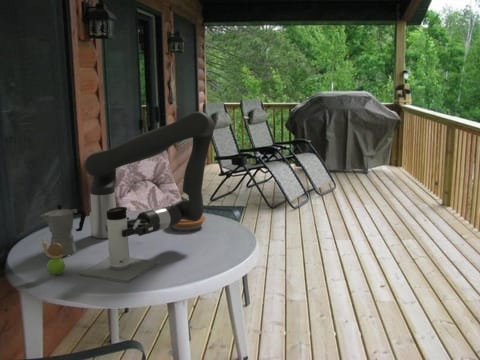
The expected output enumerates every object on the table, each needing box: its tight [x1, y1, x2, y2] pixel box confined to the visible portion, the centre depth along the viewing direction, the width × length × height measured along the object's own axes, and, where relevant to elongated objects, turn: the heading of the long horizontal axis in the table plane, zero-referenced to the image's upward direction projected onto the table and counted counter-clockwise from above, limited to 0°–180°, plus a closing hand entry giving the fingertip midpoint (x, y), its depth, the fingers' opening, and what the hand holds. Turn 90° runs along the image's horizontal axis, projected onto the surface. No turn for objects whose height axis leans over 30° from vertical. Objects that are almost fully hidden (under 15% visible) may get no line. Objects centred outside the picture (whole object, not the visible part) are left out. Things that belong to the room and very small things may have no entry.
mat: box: [79, 256, 159, 283], centre depth 177 cm, size 18×18×1 cm
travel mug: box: [107, 206, 130, 270], centre depth 175 cm, size 6×7×20 cm
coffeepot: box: [39, 203, 87, 257], centre depth 192 cm, size 15×9×18 cm, turn 115°
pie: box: [171, 215, 206, 232], centre depth 223 cm, size 15×16×5 cm
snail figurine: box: [41, 237, 66, 276], centre depth 172 cm, size 5×6×12 cm
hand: (114, 231), depth 174 cm, fingers open, 8 cm apart
